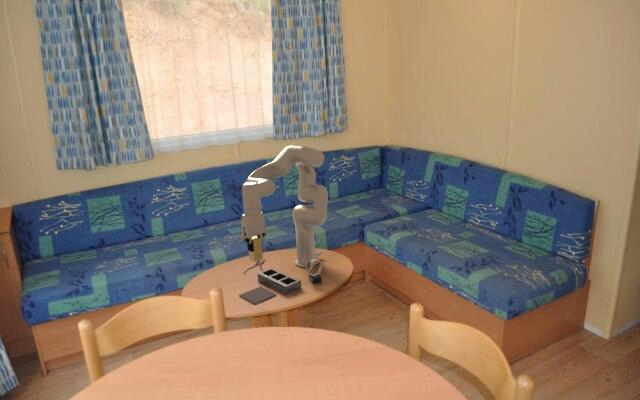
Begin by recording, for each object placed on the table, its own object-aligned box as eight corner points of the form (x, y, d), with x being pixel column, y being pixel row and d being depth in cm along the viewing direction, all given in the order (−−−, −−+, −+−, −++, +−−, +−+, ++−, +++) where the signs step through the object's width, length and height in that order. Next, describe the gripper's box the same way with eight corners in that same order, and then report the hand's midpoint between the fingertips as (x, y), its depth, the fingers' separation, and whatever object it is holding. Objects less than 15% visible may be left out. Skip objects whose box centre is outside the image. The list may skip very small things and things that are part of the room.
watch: (305, 280, 231) (304, 259, 228) (320, 277, 234) (319, 256, 231) (309, 285, 226) (308, 263, 223) (324, 281, 229) (324, 260, 226)
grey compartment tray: (258, 280, 233) (257, 273, 232) (272, 274, 239) (272, 267, 238) (286, 294, 217) (285, 286, 216) (301, 288, 223) (300, 280, 222)
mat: (260, 287, 226) (260, 286, 226) (276, 295, 217) (276, 294, 217) (239, 296, 218) (239, 294, 218) (254, 304, 209) (254, 303, 209)
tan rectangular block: (257, 256, 218) (255, 235, 215) (262, 259, 215) (261, 238, 212) (249, 259, 215) (247, 238, 212) (254, 261, 212) (253, 240, 209)
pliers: (243, 274, 239) (247, 259, 259) (243, 276, 240) (247, 260, 259) (262, 273, 240) (265, 258, 259) (262, 275, 240) (265, 259, 259)
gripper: (263, 205, 217) (265, 242, 222) (231, 212, 206) (234, 252, 211) (273, 207, 212) (275, 246, 216) (241, 216, 201) (244, 256, 205)
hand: (255, 249), depth 214 cm, fingers closed on tan rectangular block, 4 cm apart
